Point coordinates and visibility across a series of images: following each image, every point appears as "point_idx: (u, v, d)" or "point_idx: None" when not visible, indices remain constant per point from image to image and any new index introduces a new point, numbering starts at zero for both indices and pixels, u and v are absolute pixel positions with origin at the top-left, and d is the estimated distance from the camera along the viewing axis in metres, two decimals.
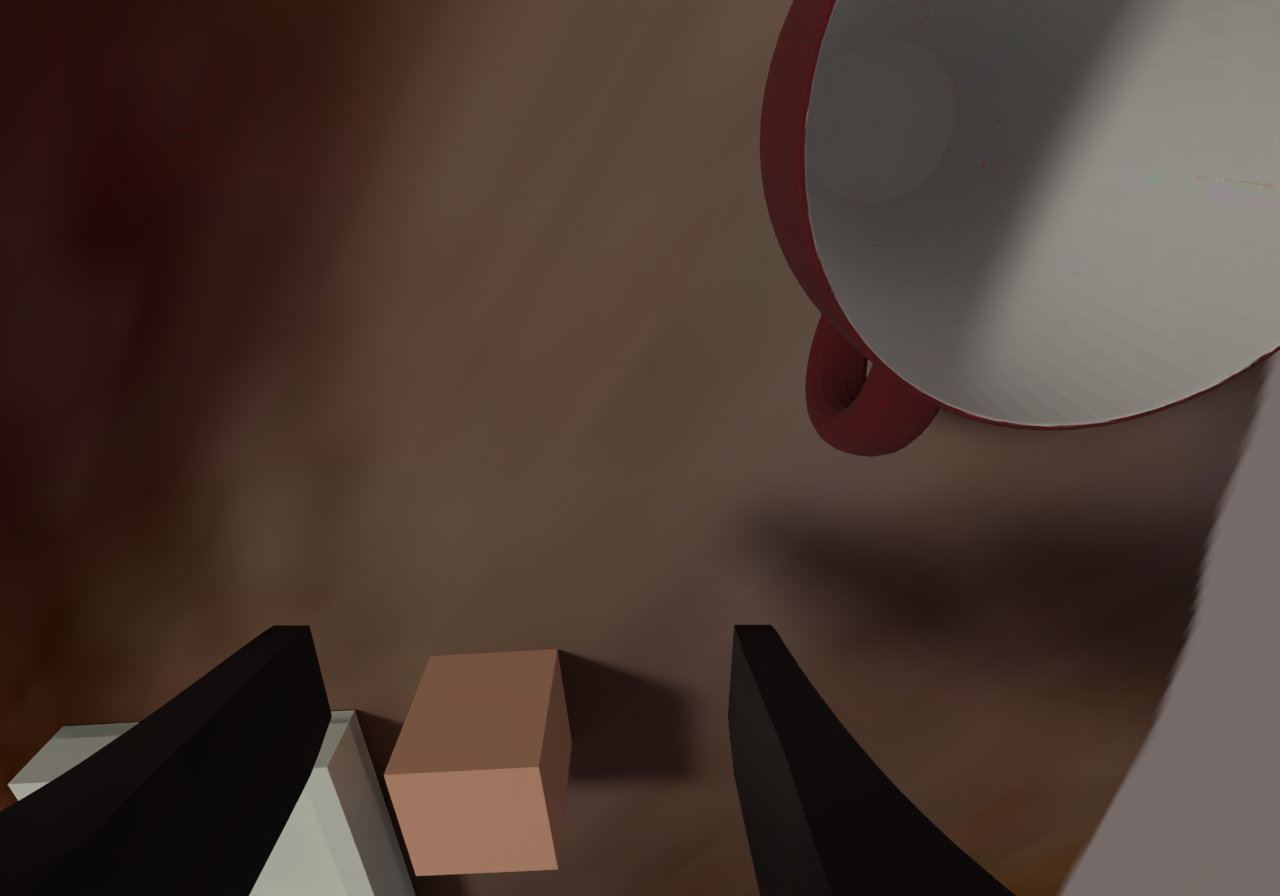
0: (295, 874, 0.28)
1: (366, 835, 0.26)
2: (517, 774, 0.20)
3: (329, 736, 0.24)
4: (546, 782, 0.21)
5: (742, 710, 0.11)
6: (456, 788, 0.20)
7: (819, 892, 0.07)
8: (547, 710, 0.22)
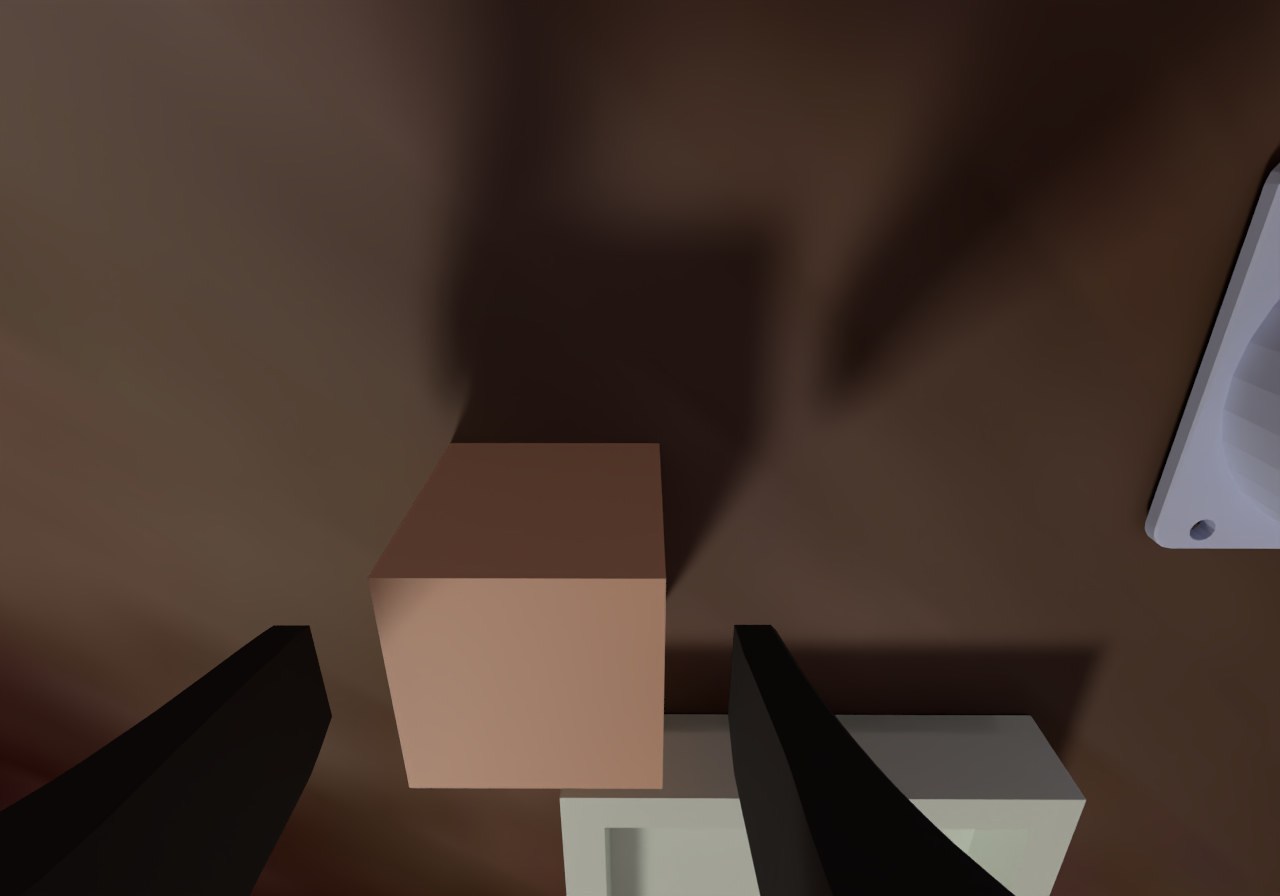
0: None
1: None
2: (391, 612, 0.11)
3: None
4: (455, 560, 0.11)
5: (742, 710, 0.11)
6: (433, 703, 0.12)
7: (819, 892, 0.07)
8: (413, 508, 0.12)
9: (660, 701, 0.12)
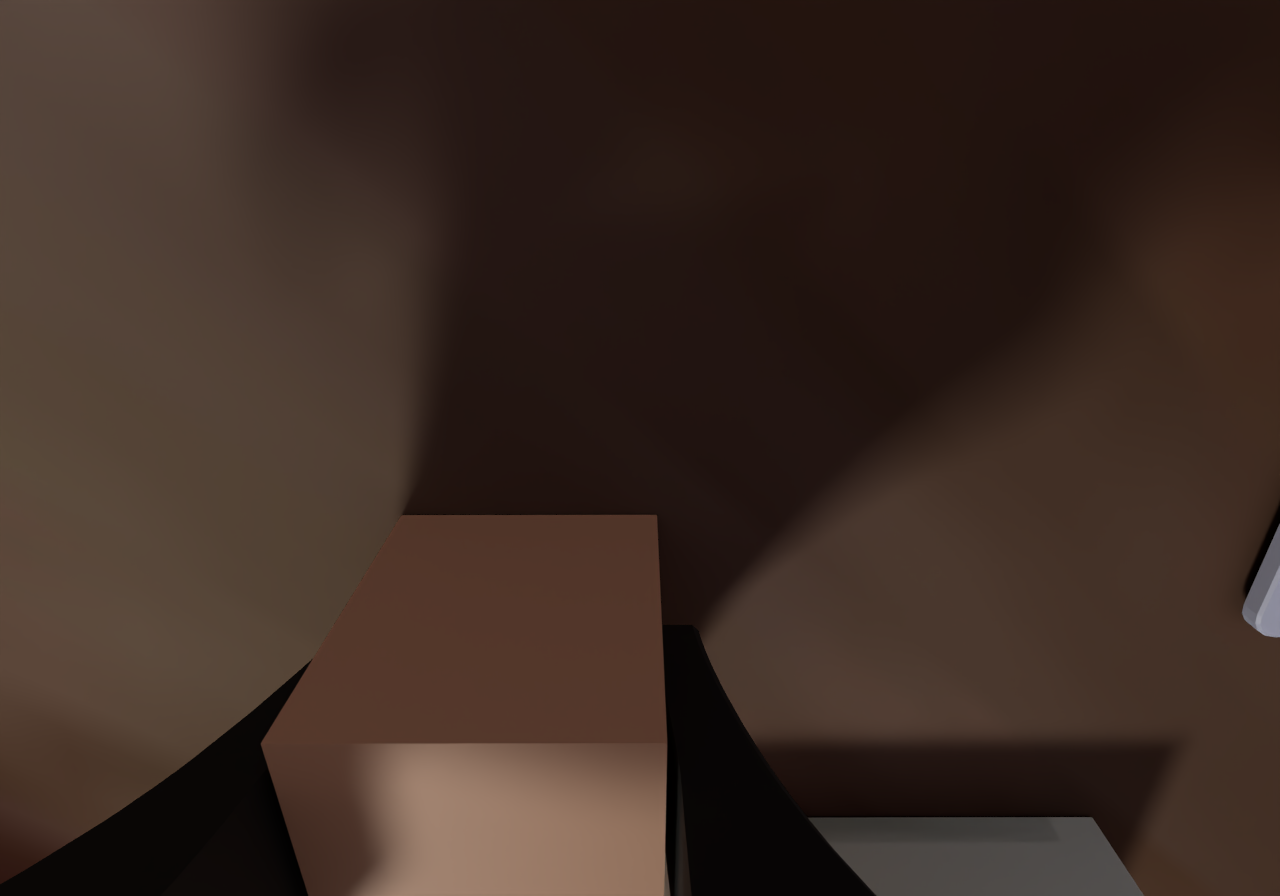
0: None
1: None
2: (296, 785, 0.08)
3: None
4: (384, 710, 0.08)
5: None
6: (360, 889, 0.09)
7: (688, 892, 0.07)
8: (340, 619, 0.10)
9: (659, 885, 0.09)
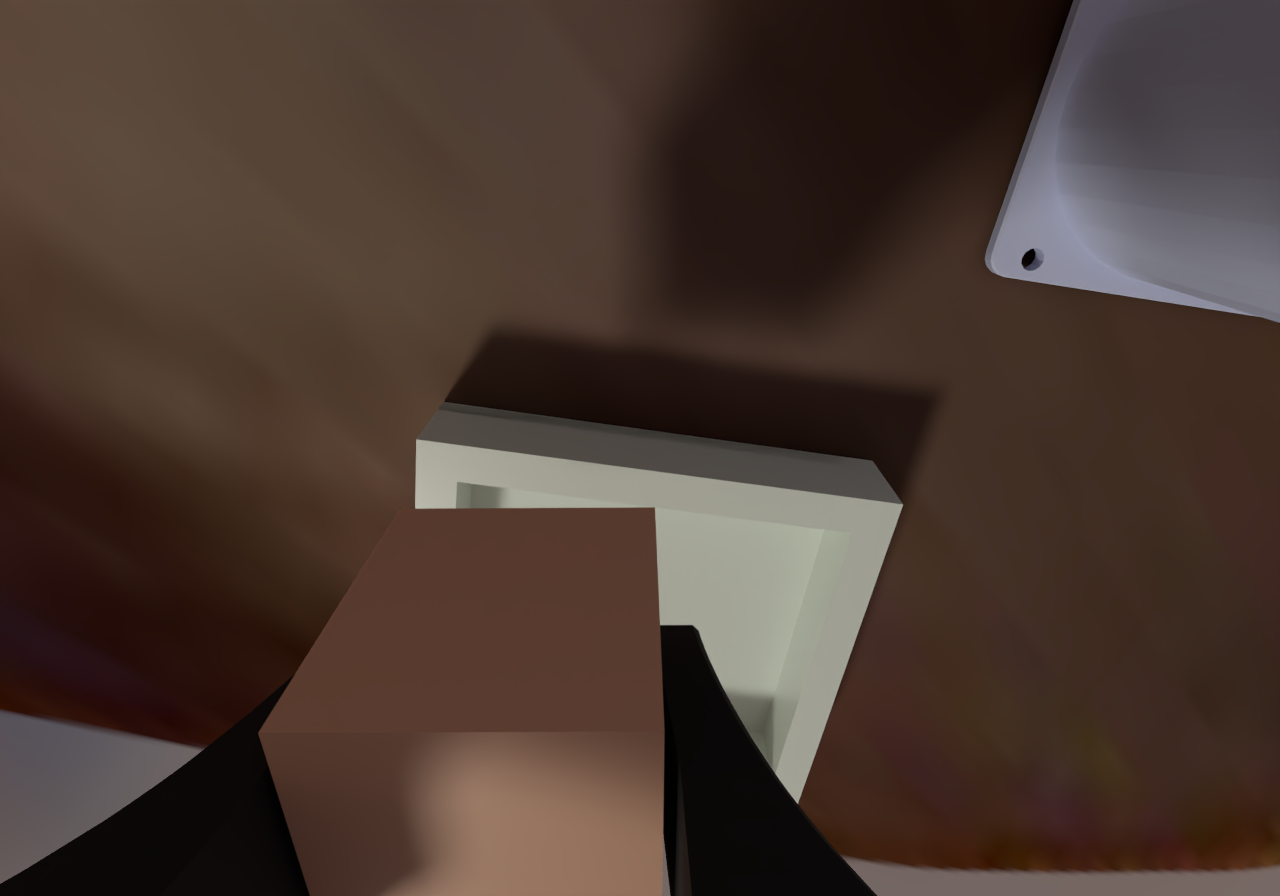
0: (709, 579, 0.21)
1: (602, 450, 0.17)
2: (295, 775, 0.08)
3: None
4: (381, 700, 0.08)
5: None
6: (358, 879, 0.09)
7: (688, 892, 0.07)
8: (338, 611, 0.10)
9: (658, 874, 0.09)
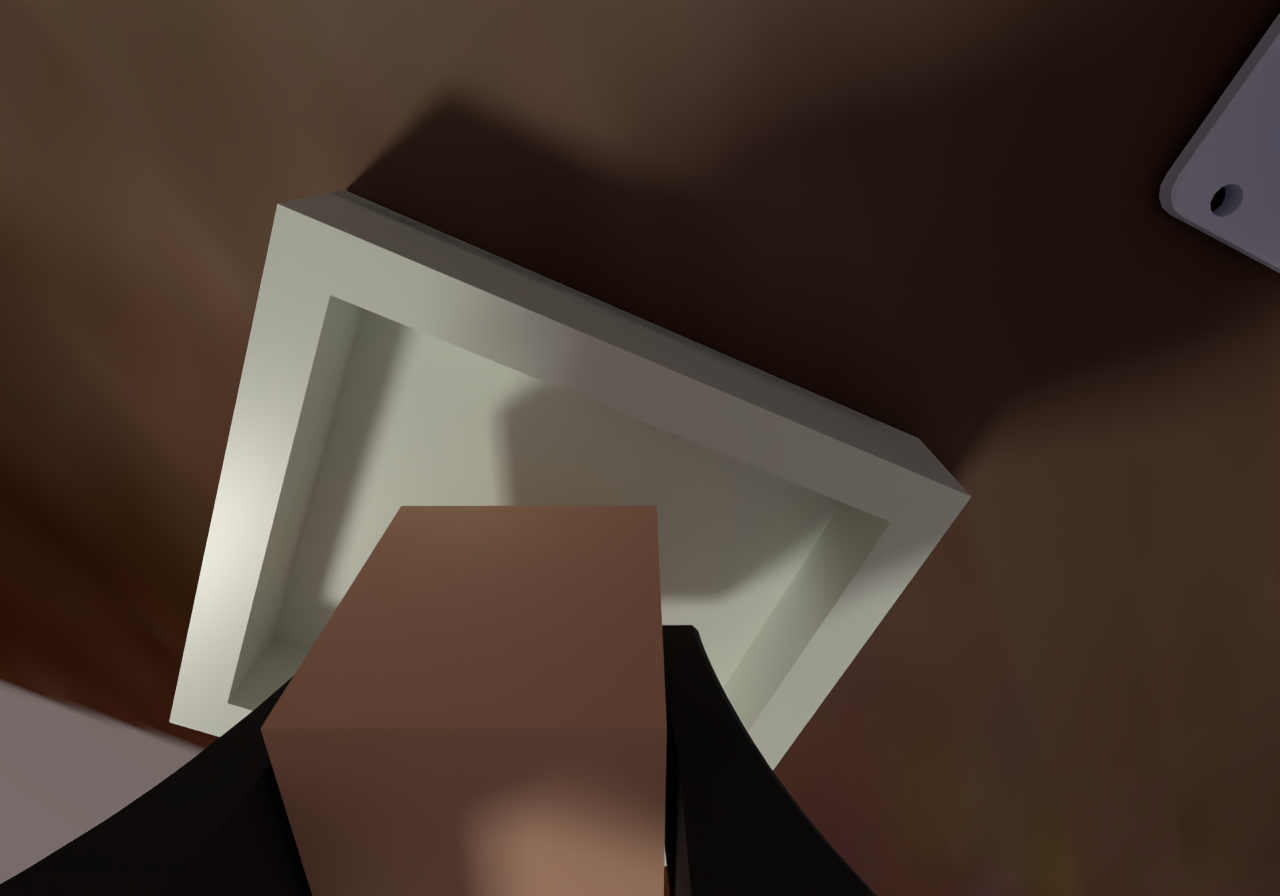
0: (661, 549, 0.15)
1: (568, 312, 0.11)
2: (296, 769, 0.08)
3: None
4: (383, 695, 0.08)
5: None
6: (361, 875, 0.09)
7: (688, 892, 0.07)
8: (340, 607, 0.10)
9: (659, 871, 0.09)
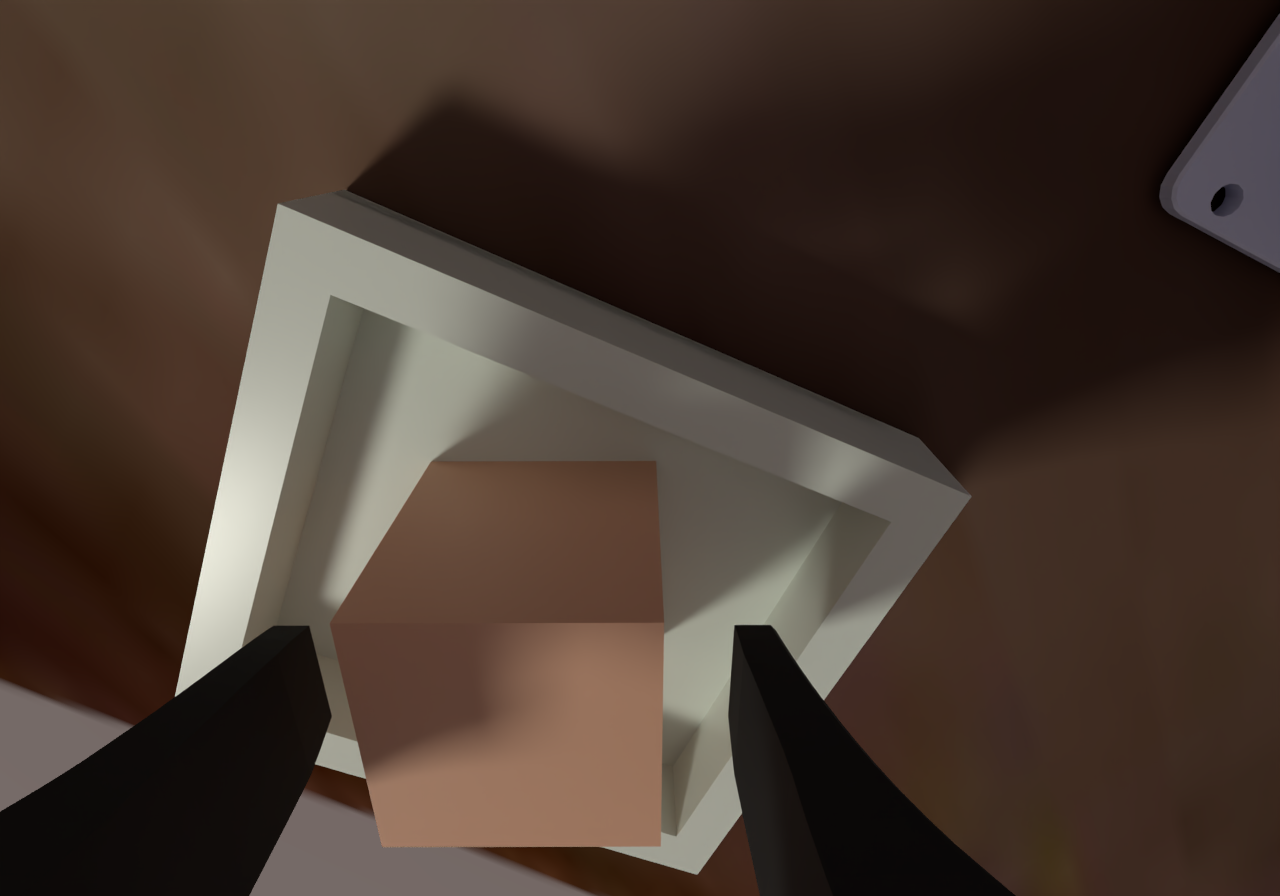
0: (661, 548, 0.15)
1: (568, 312, 0.11)
2: (357, 660, 0.10)
3: None
4: (428, 601, 0.10)
5: (742, 710, 0.11)
6: (406, 757, 0.10)
7: (819, 892, 0.07)
8: (385, 538, 0.11)
9: (658, 754, 0.10)
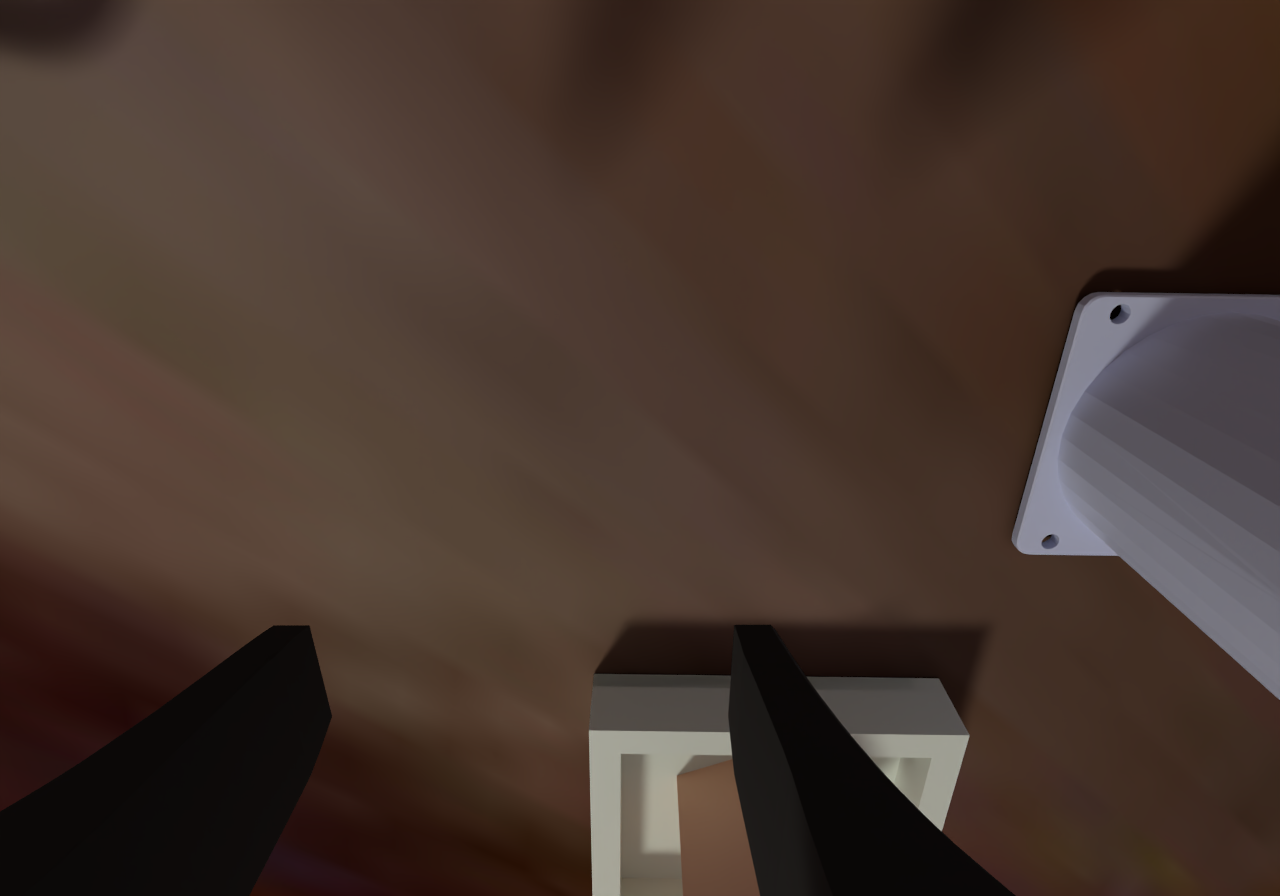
0: None
1: (726, 714, 0.23)
2: None
3: None
4: (720, 891, 0.21)
5: (742, 710, 0.11)
6: None
7: (819, 892, 0.07)
8: (681, 849, 0.23)
9: None
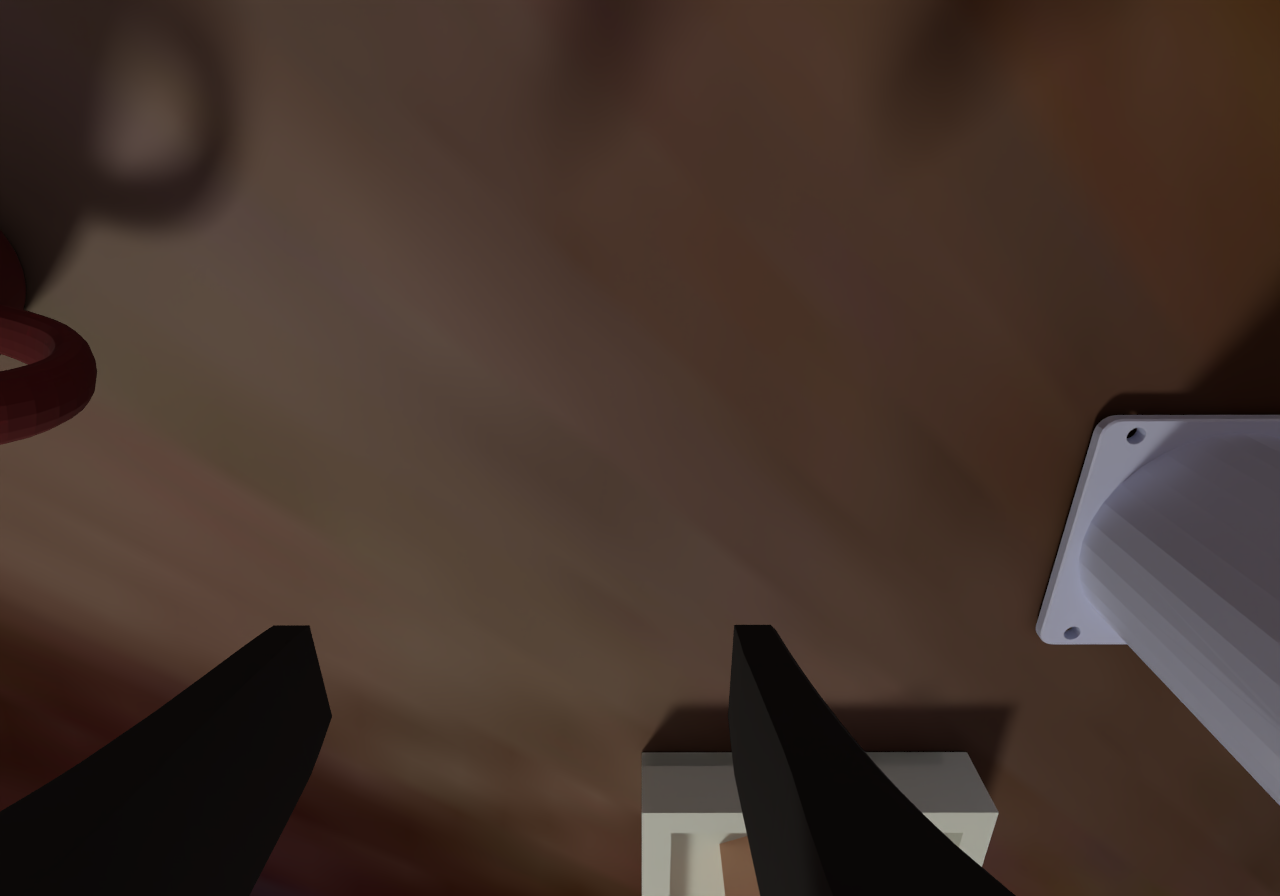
0: None
1: None
2: None
3: None
4: None
5: (742, 710, 0.11)
6: None
7: (819, 892, 0.07)
8: None
9: None
